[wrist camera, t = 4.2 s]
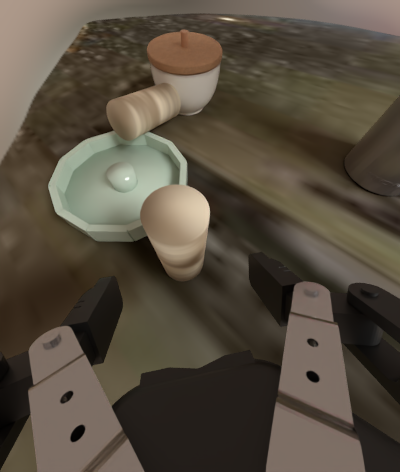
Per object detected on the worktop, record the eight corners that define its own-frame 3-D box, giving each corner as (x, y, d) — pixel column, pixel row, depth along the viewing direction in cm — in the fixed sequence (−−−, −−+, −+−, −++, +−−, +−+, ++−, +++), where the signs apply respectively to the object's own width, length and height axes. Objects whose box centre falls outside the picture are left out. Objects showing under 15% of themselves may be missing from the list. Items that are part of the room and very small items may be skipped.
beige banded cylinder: (138, 145, 24) (179, 121, 30) (133, 106, 21) (181, 87, 26) (111, 134, 25) (157, 112, 31) (102, 94, 22) (155, 78, 27)
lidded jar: (149, 94, 35) (134, 20, 26) (202, 84, 37) (205, 12, 29) (167, 130, 31) (157, 55, 22) (226, 116, 33) (238, 42, 24)
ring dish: (120, 132, 30) (113, 114, 28) (208, 172, 27) (209, 156, 24) (35, 203, 24) (16, 189, 21) (137, 266, 21) (129, 257, 18)
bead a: (177, 236, 22) (166, 175, 13) (210, 254, 21) (221, 201, 12) (155, 268, 21) (125, 221, 12) (190, 289, 20) (186, 256, 11)
